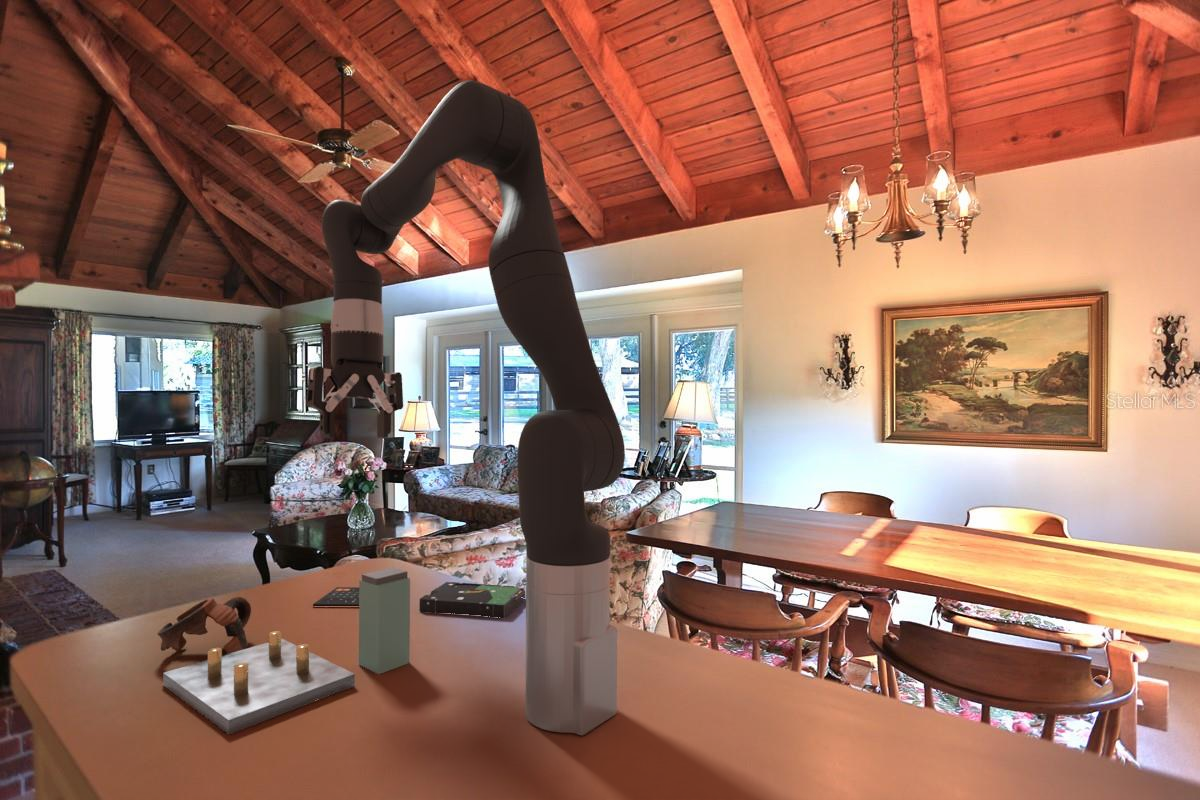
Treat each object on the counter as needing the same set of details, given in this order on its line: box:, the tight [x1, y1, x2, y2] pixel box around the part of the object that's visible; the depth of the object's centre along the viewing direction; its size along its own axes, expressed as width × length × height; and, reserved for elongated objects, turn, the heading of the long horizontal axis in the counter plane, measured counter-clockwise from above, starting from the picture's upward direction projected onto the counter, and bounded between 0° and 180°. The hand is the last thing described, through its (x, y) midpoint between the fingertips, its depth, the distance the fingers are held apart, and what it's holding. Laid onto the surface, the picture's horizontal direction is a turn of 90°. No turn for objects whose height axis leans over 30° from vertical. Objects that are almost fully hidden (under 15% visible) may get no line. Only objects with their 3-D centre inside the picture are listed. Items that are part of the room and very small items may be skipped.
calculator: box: [312, 586, 359, 607], centre depth 109 cm, size 9×12×3 cm
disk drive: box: [418, 581, 526, 619], centre depth 106 cm, size 10×3×15 cm
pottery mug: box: [157, 596, 252, 654], centre depth 86 cm, size 12×9×8 cm
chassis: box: [162, 630, 356, 736], centre depth 76 cm, size 18×14×4 cm
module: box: [358, 566, 411, 675], centre depth 82 cm, size 4×5×12 cm
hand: (356, 437), depth 97 cm, fingers open, 8 cm apart
